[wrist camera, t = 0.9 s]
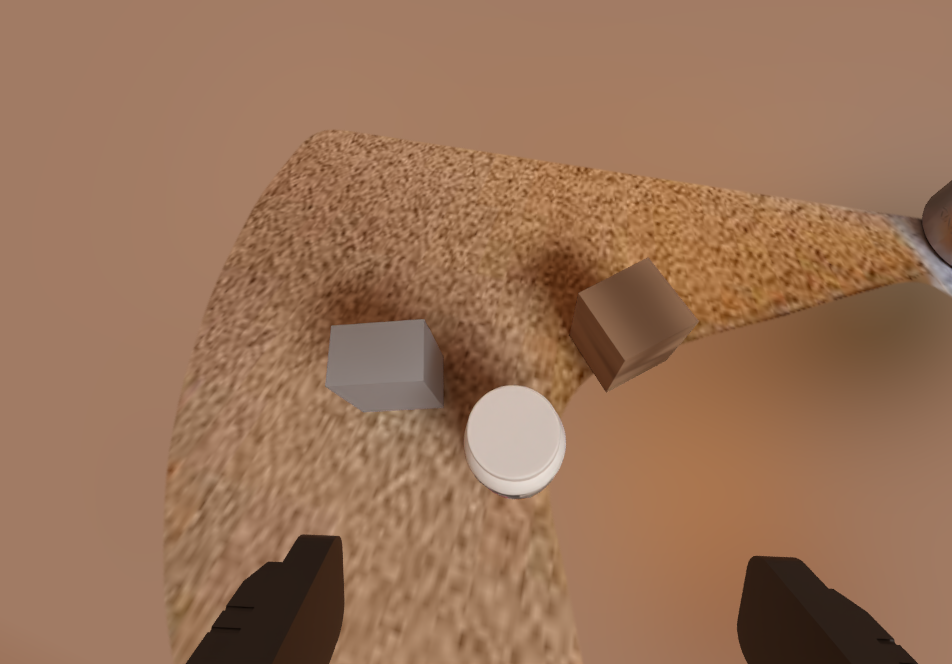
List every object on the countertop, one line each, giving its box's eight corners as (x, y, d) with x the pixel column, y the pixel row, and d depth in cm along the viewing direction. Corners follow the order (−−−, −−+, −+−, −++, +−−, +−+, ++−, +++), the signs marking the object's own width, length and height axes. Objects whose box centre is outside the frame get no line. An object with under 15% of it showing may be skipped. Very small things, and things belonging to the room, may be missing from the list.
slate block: (443, 356, 35) (424, 319, 29) (443, 408, 34) (423, 380, 27) (366, 361, 36) (331, 325, 29) (363, 412, 34) (325, 386, 28)
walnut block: (626, 305, 35) (648, 257, 29) (666, 360, 33) (699, 321, 27) (569, 335, 35) (578, 293, 28) (606, 392, 33) (624, 360, 26)
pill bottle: (459, 452, 32) (431, 424, 23) (520, 399, 33) (516, 352, 24) (513, 519, 30) (506, 518, 21) (576, 460, 31) (596, 435, 22)
